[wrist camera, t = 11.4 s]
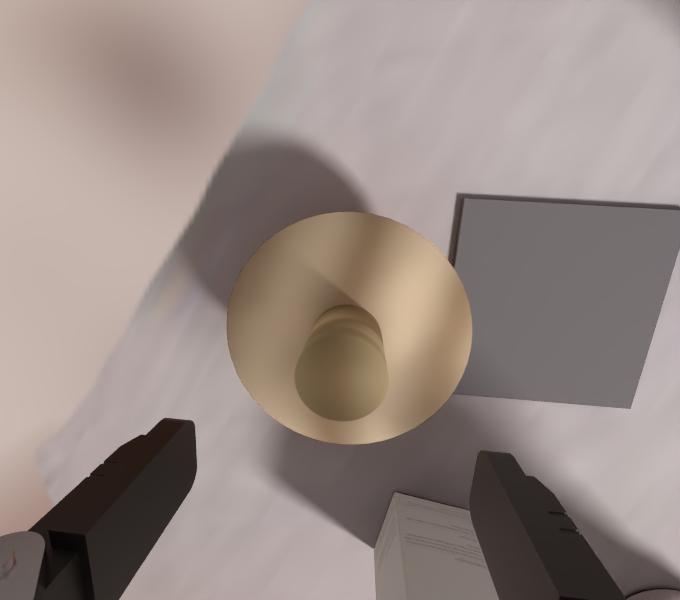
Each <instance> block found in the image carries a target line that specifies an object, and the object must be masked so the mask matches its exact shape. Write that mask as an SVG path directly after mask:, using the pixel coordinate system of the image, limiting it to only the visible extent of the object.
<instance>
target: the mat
mask: <svg viewBox="0 0 680 600" xmlns="http://www.w3.org/2000/svg"><path fill="white" fill-rule="evenodd" d="M679 248H680V210H667V209H649V208H631V207H613V206H595V205H577V204H559V203H541V202H523V201H505V200H487V199H469V198H464V199H463V200H462V207H461V214H460V221H459V228H458V235H457V242H456V249H455V256H454V263H453V268H454V269H455V271H456V273H457V275H458V277H459V278H460V280H461V282H462V284H463V286H464V289H465V292H466V295H467V298H468V301H469V306H470V311H471V316H472V343H471V350H470V354H469V359H468V363H467V365H466V368H465V370H464V373H463V376H462V378H461V380H460V381H459V383H458V385H457V387H456V389H455V390H454V392H453V393H452V394H461V395H473V396H485V397H497V398H508V399H520V400H532V401H544V402H556V403H568V404H579V405H591V406H603V407H615V408H627V409H631V405H632V402H633V399H634V396H635V392H636V389H637V386H638V382H639V379H640V376H641V373H642V369H643V366H644V363H645V360H646V356H647V353H648V350H649V347H650V343H651V340H652V337H653V333H654V330H655V327H656V324H657V320H658V317H659V314H660V311H661V307H662V304H663V301H664V298H665V294H666V291H667V288H668V284H669V281H670V278H671V275H672V271H673V268H674V265H675V262H676V258H677V255H678V252H679Z"/></svg>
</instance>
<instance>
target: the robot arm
mask: <svg viewBox="0 0 680 600" xmlns="http://www.w3.org/2000/svg"><path fill="white" fill-rule="evenodd" d="M196 471H197V457H196V437H195V425H194V422H193V421H191V420H182V419H172V418H164V419H162V420H161V421H160V422H159V423H158V424H157V425H156V426H155V427H154V428H153V429H152V430H151V431H150V432H149V433H147V434H146V435H140V436H138V437H136V438H134V439H132V440H131V441H129V442H127V443H125V444H124V445H122V446H120V447H119V448H118V449H117V450H116V451H115V452H114V453H113V454H111V455H110V456H109V457H108V458H107V459H106V460H105V461H104V464H100V465H99V466H98V467H97V468H96V469H95V470H94V471H93V472H92V473H91V474H90V476H89V477H86V478H85V479H84V480H83V481H82V482H81V483H80V484H79V485H78V486H76V487H75V488H74V489H73V490H72V491H71V492H70V493H69V494H68V495H67V496H65V497H64V498H63V499H62V500H61V501H60V502H59V503H58V504H57V505H56V506H55V507H53V508H52V509H51V510H50V511H49V512H48V513H47V514H46V515H45V516H44V517H43V518H41V519H40V520H39V521H38V522H37V523H36V524H35V525H34V526H33V527H32V528H30V529H29V530H28V531H24V532H23V531H22V532H15V533H11V534H7V535H4V536H1V537H0V600H119V598H120V597H121V595H122V594H123V592H124V591H125V589H126V588H127V586H128V585H129V583H130V582H131V580H132V579H133V577H134V576H135V574H136V572H137V571H138V569H139V568H140V566H141V565H142V563H143V562H144V560H145V559H146V557H147V556H148V554H149V553H150V551H151V550H152V548H153V546H154V545H155V543H156V542H157V540H158V539H159V537H160V536H161V534H162V533H163V531H164V530H165V528H166V527H167V525H168V524H169V522H170V520H171V519H172V517H173V516H174V514H175V513H176V511H177V510H178V508H179V507H180V505H181V504H182V502H183V501H184V499H185V498H186V496H187V494H188V493H189V491H190V490H191V488H192V485H193V483H194V480H195V476H196ZM470 515H471V520H472V524H473V527H474V530H475V533H476V536H477V539H478V541H479V544H480V547H481V550H482V553H483V555H484V558H485V561H486V564H487V567H488V570H489V572H490V575H491V578H492V581H493V584H494V587H495V589H496V592H497V595H498V598H499V600H680V591H678V590H669V589H657V590H650V591H644V592H641V593H638V594H635V595H633V596H631V597H629V598H627V599H626V598H625V596H624V595H623V593H622V592H621V591H620V589H619V588H618V586H617V585H616V583H615V582H614V580H613V579H612V578H611V576H610V575H609V573H608V572H607V570H606V569H605V567H604V566H603V565H602V563H601V562H600V560H599V559H598V557H597V556H596V554H595V553H594V552H593V550H592V549H591V547H590V546H589V544H588V543H587V541H586V540H585V539H584V537H583V536H582V535H580V534H579V530H578V528H577V527H576V526H575V524H574V523H573V521H572V520H571V518H570V517H568V516H567V513H566V511H565V510H564V508H563V507H562V505H561V504H560V502H559V501H558V500H557V498H556V497H555V495H554V494H553V493H552V492H551V491H550V490H549V489H547V488H546V487H545V486H544V485H543V484H542V483H541V482H539V481H538V480H537V479H536V478H535V477H532V476H526V475H525V474H524V472H523V471H522V469H521V467H520V466H519V464H518V463H517V461H516V460H515V458H514V457H513V455H512V454H510V453H501V452H491V451H480V452H479V453H478V456H477V461H476V467H475V472H474V477H473V483H472V488H471V494H470Z"/></svg>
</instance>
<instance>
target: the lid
mask: <svg viewBox="0 0 680 600" xmlns="http://www.w3.org/2000/svg"><path fill="white" fill-rule="evenodd" d="M227 339H228V346H229V350H230V355H231V359H232V361H233V364H234V367H235V369H236V372H237V374H238V376H239V378H240V380H241V382H242V383H243V385H244V387H245V388H246V390H247V391H248V392H249V394H250V395H251V397H252V398H253V399H254V400H255V401H256V402H257V404H258V405H259V406H260V407H261V408H262V409H263V410H264V411H266V412H267V413H268V414H269V415H270V416H271V417H272V418H274V419H275V420H277V421H278V422H280V423H281V424H282V425H284V426H286V427H288V428H289V429H291V430H293V431H295V432H297V433H299V434H302V435H304V436H307V437H310V438H313V439H316V440H320V441H324V442H329V443H336V444H353V445H355V444H368V443H374V442H379V441H384V440H387V439H390V438H393V437H396V436H399V435H401V434H403V433H405V432H408V431H410V430H412V429H413V428H415V427H417V426H418V425H420V424H422V423H423V422H425V421H426V420H427V419H428V418H430V417H431V416H432V415H433V414H435V413H436V412H437V411H438V410H439V409H440V408H441V407H442V405H443V404H444V403H445V402H446V401H447V400H448V398H449V397H450V396H451V394H452V393H453V392H454V390H455V389H456V387H457V385H458V383H459V381H460V380H461V378H462V376H463V373H464V370H465V368H466V365H467V363H468V359H469V354H470V350H471V343H472V316H471V311H470V306H469V301H468V298H467V295H466V292H465V289H464V286H463V284H462V282H461V280H460V278H459V277H458V275H457V273H456V271H455V269H454V268H453V267H452V265H451V264H450V262H449V261H448V260H447V258H446V257H445V256H444V255H443V254H442V253H441V252H440V251H439V250H438V249H437V247H436V246H435V245H434V244H432V243H431V242H430V241H429V240H427V239H426V238H425V237H423V236H422V235H421V234H419V233H418V232H416V231H414V230H413V229H411V228H409V227H408V226H406V225H404V224H401V223H399V222H396V221H394V220H392V219H389V218H385V217H382V216H378V215H374V214H368V213H360V212H334V213H327V214H320V215H317V216H313V217H310V218H306V219H303V220H301V221H299V222H296V223H294V224H292V225H290V226H287V227H286V228H284V229H283V230H281V231H280V232H278V233H276V234H275V235H273V236H272V237H271V238H270V239H268V240H267V241H266V242H265V243H264V244H263V245H261V246H260V247H259V249H258V250H257V251H256V252H255V253H254V254H253V255H252V256H251V257H250V259H249V260H248V262H247V263H246V265H245V266H244V268H243V269H242V271H241V273H240V275H239V277H238V279H237V281H236V283H235V285H234V288H233V291H232V294H231V297H230V301H229V307H228V313H227Z"/></svg>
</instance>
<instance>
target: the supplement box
mask: <svg viewBox="0 0 680 600" xmlns="http://www.w3.org/2000/svg"><path fill="white" fill-rule="evenodd" d="M374 563H375V584H376V600H499V598H498V595H497V592H496V589H495V587H494V584H493V581H492V578H491V575H490V572H489V570H488V567H487V564H486V561H485V558H484V555H483V553H482V550H481V547H480V544H479V541H478V539H477V536H476V533H475V530H474V527H473V524H472V520H471V515H470V511H469V510H465V509H461V508H457V507H452V506H448V505H444V504H440V503H436V502H432V501H428V500H424V499H420V498H416V497H412V496H408V495H404V494H400V493H397V492H395V493H394V495H393V497H392V500H391V503H390V506H389V509H388V511H387V514H386V517H385V520H384V523H383V525H382V528H381V531H380V534H379V537H378V540H377V543H376V546H375V549H374Z"/></svg>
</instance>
